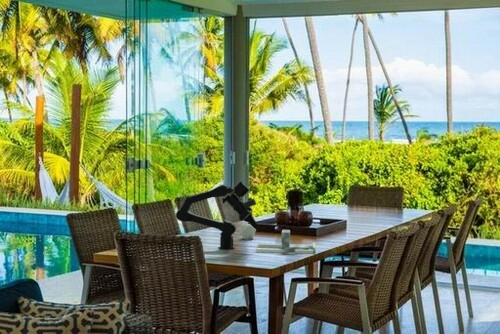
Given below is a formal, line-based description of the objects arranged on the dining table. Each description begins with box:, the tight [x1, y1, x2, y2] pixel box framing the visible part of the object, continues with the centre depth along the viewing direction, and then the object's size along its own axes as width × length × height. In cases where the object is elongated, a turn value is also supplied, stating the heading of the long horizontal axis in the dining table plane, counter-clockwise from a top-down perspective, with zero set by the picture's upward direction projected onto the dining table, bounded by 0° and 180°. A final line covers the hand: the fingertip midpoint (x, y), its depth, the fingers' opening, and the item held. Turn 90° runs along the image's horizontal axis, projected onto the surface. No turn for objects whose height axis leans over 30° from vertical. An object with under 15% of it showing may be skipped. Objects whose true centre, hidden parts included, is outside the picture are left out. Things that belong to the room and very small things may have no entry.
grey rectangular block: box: [280, 229, 310, 252], centre depth 454 cm, size 14×10×10 cm
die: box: [238, 223, 257, 240], centre depth 493 cm, size 8×9×10 cm
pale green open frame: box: [255, 242, 316, 254], centre depth 454 cm, size 30×18×3 cm, turn 86°
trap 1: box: [282, 252, 296, 256], centre depth 442 cm, size 6×6×1 cm
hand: (256, 225), depth 454 cm, fingers closed
